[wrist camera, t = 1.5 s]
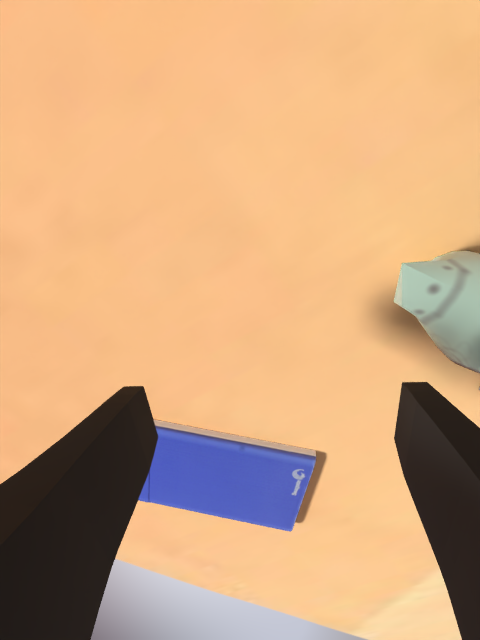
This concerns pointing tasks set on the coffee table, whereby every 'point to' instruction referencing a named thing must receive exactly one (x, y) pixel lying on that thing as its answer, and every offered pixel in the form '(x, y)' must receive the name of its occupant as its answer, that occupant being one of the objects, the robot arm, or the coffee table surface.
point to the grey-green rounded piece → (446, 303)
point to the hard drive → (228, 475)
